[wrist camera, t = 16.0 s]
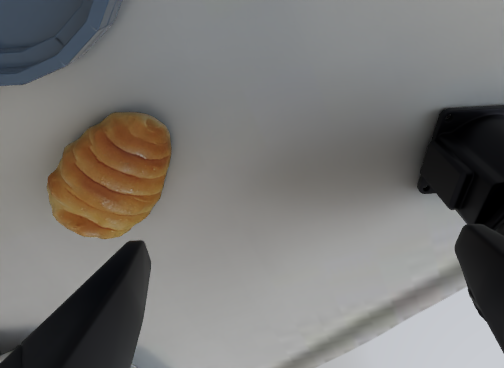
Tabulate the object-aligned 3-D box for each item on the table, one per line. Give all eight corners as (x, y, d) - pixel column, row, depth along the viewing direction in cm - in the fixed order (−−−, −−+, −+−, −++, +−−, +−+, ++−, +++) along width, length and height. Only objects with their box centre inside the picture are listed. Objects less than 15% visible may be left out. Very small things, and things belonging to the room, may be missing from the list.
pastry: (104, 79, 19) (77, 103, 16) (200, 139, 22) (194, 171, 19) (50, 182, 23) (22, 217, 20) (137, 223, 26) (123, 260, 23)
